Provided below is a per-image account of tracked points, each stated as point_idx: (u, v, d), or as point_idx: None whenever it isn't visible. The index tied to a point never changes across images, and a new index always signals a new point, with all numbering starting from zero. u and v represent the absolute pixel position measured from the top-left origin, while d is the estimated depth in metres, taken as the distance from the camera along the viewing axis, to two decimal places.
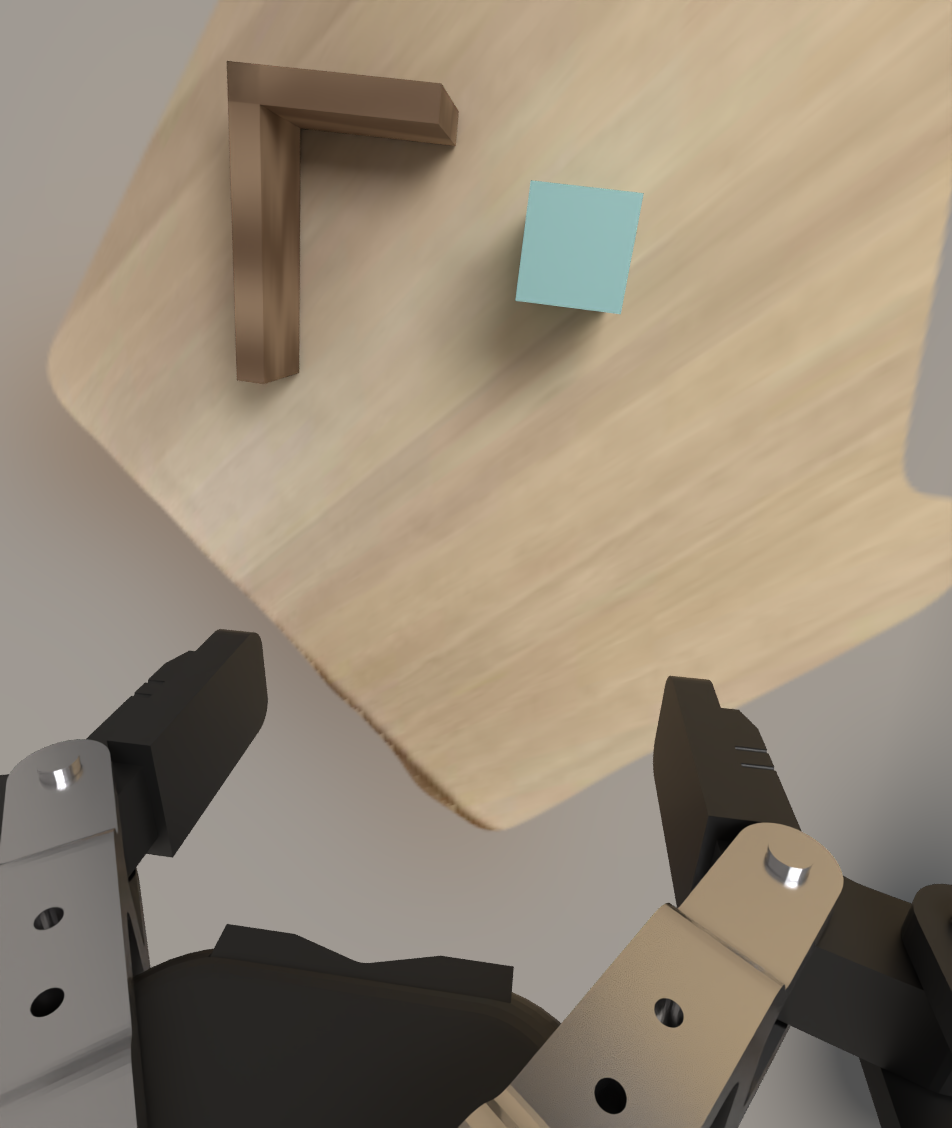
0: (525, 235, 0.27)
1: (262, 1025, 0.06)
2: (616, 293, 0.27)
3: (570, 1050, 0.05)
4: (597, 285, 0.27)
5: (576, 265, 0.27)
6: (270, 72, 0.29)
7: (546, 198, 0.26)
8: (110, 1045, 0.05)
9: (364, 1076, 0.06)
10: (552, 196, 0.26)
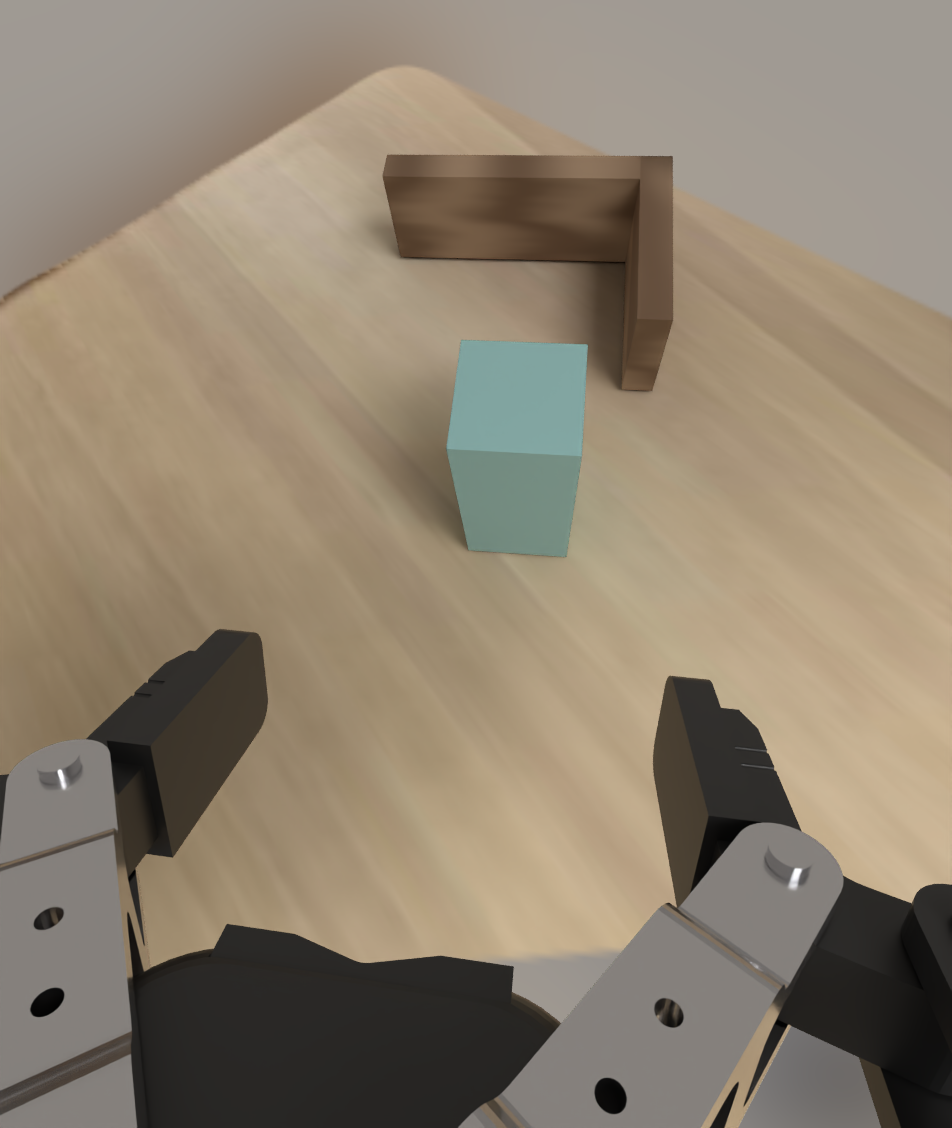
0: (531, 344, 0.23)
1: (262, 1025, 0.06)
2: (469, 442, 0.22)
3: (570, 1050, 0.05)
4: (479, 420, 0.22)
5: (500, 396, 0.23)
6: (667, 187, 0.31)
7: (570, 361, 0.23)
8: (110, 1044, 0.05)
9: (365, 1076, 0.06)
10: (572, 365, 0.23)
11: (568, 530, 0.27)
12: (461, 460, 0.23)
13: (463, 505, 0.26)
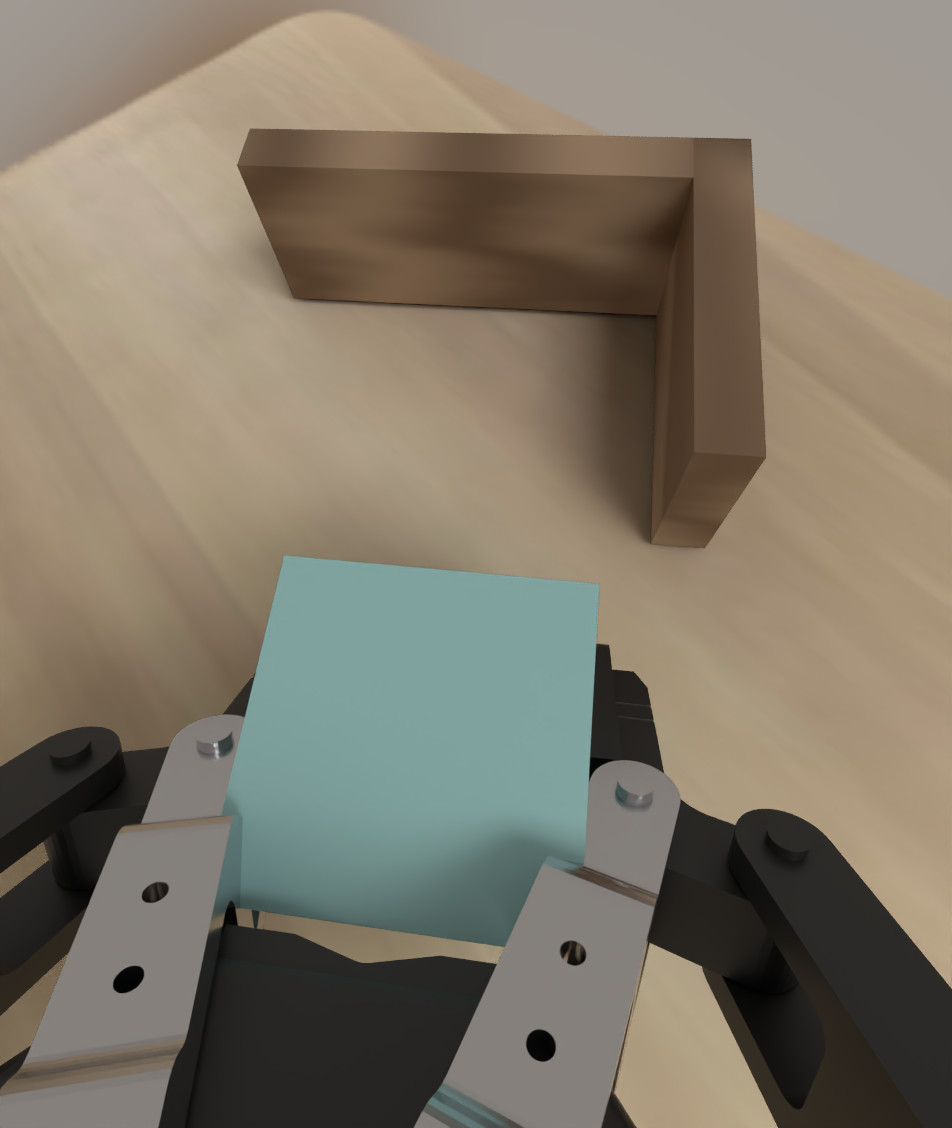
0: (457, 575, 0.09)
1: (262, 1025, 0.06)
2: (266, 882, 0.08)
3: (570, 1050, 0.05)
4: (301, 810, 0.08)
5: (366, 733, 0.08)
6: (743, 193, 0.17)
7: (552, 631, 0.09)
8: (163, 1047, 0.05)
9: (365, 1076, 0.06)
10: (560, 645, 0.09)
11: None
12: None
13: None
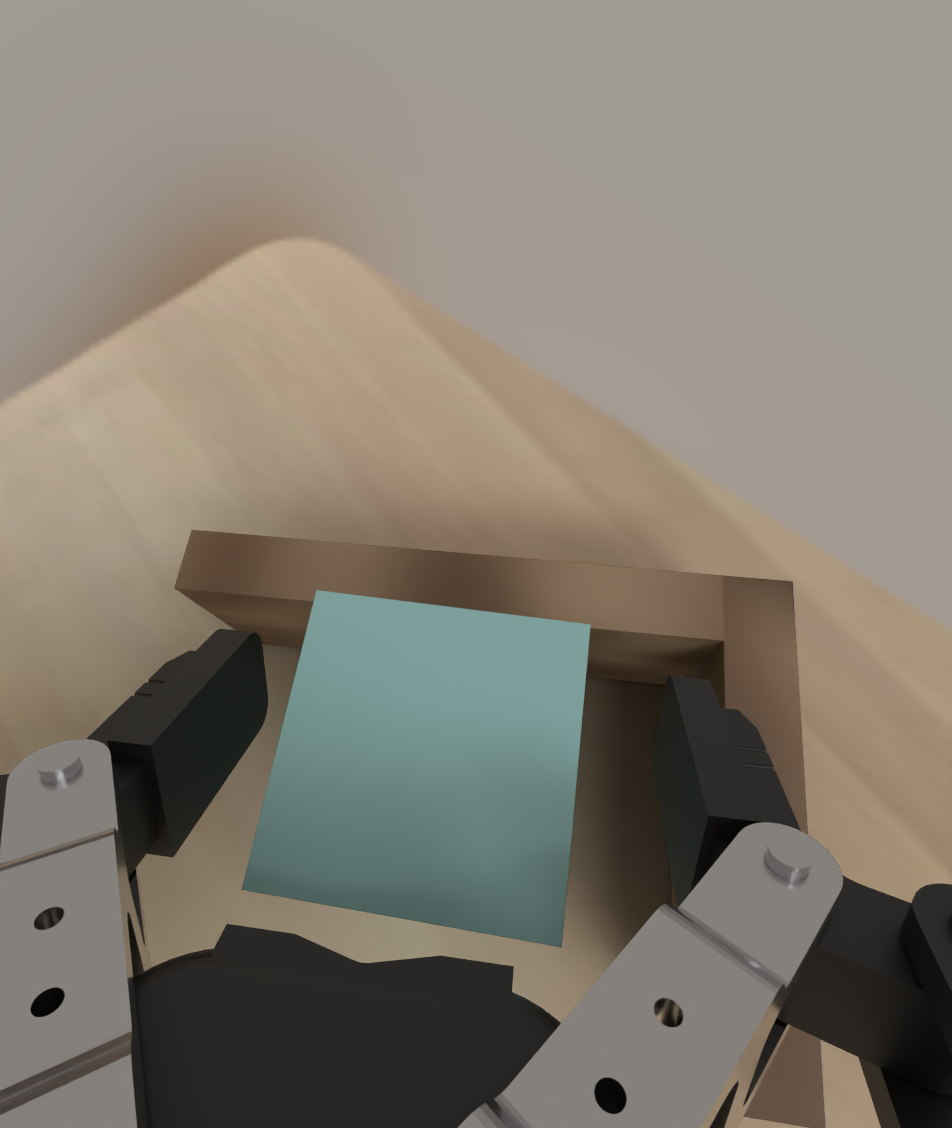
0: (467, 613, 0.11)
1: (262, 1025, 0.06)
2: (298, 874, 0.09)
3: (570, 1050, 0.05)
4: (328, 813, 0.10)
5: (385, 749, 0.10)
6: (785, 670, 0.14)
7: (548, 665, 0.10)
8: (110, 1045, 0.05)
9: (365, 1076, 0.06)
10: (554, 678, 0.10)
11: None
12: None
13: None
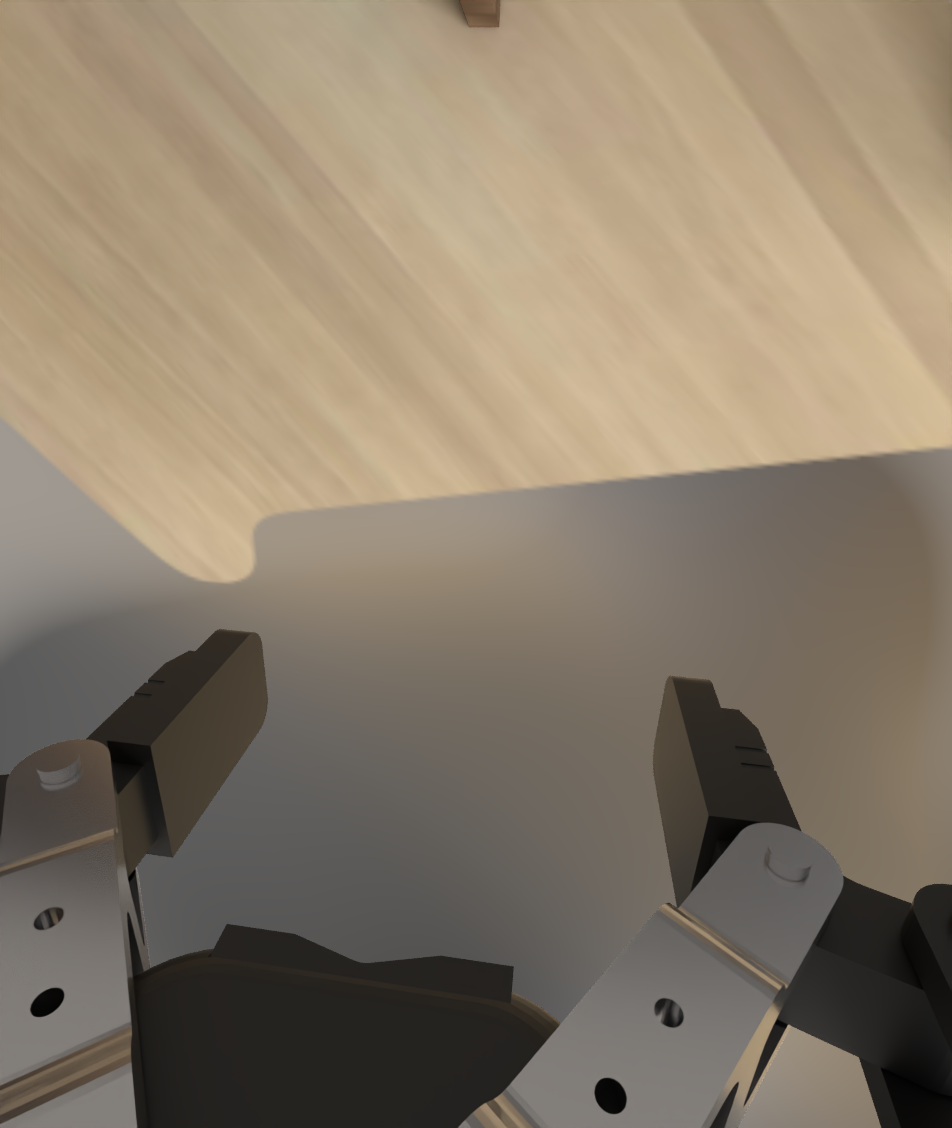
0: None
1: (262, 1025, 0.06)
2: None
3: (570, 1050, 0.05)
4: None
5: None
6: None
7: None
8: (109, 1046, 0.05)
9: (365, 1075, 0.06)
10: None
11: None
12: None
13: None
